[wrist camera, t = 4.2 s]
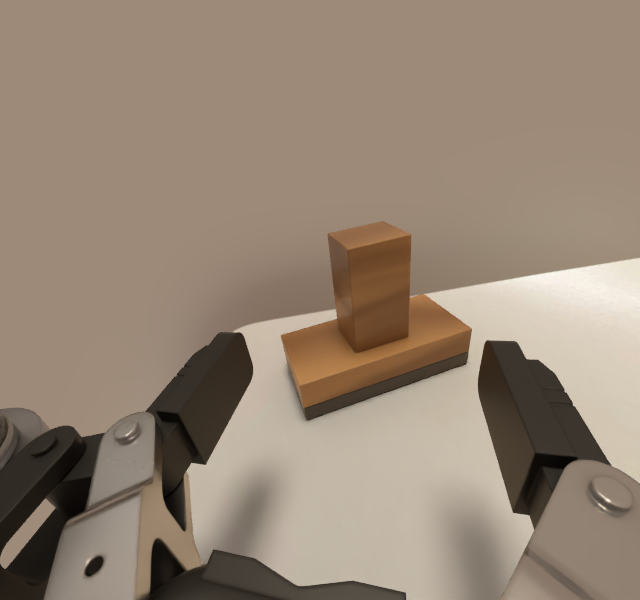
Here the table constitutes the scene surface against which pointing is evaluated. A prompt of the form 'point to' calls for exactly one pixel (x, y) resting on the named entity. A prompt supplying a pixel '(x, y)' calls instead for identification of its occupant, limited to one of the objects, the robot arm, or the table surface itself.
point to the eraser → (372, 326)
